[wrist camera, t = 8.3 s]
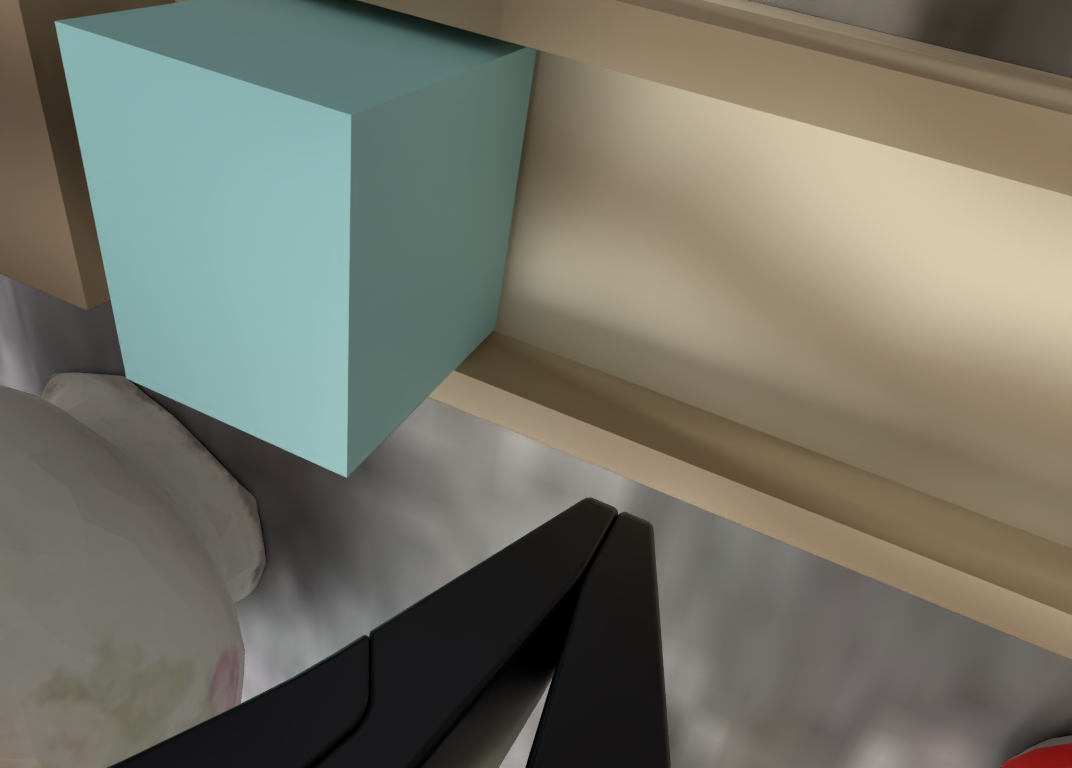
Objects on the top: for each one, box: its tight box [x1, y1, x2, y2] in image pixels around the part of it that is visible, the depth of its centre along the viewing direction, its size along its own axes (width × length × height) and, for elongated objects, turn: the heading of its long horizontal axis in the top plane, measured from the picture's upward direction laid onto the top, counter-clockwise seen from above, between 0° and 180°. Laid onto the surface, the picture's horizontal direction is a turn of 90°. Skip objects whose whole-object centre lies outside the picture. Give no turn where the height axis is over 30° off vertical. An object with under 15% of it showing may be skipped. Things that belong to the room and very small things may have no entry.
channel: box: [0, 0, 1072, 660], centre depth 15 cm, size 9×28×5 cm, turn 80°
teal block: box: [55, 0, 537, 478], centre depth 15 cm, size 6×5×6 cm
